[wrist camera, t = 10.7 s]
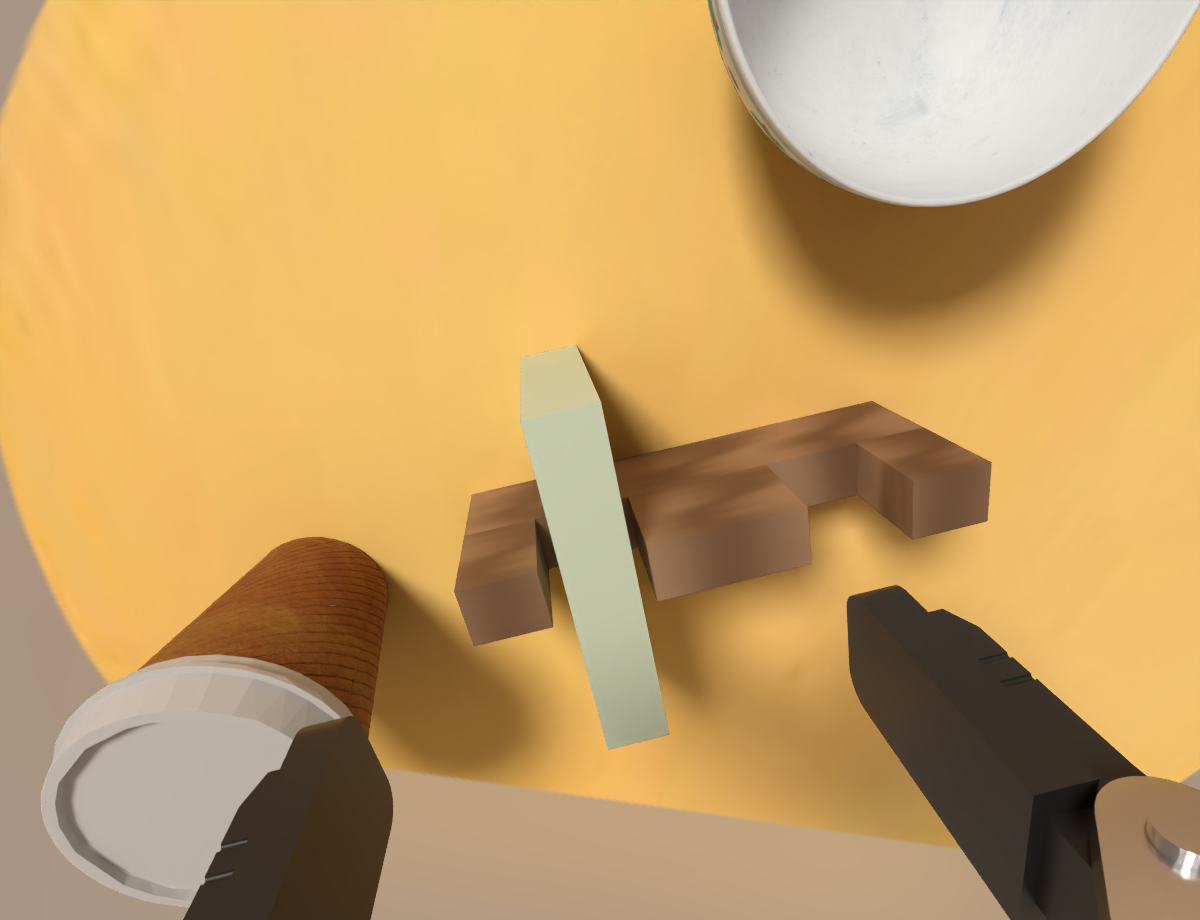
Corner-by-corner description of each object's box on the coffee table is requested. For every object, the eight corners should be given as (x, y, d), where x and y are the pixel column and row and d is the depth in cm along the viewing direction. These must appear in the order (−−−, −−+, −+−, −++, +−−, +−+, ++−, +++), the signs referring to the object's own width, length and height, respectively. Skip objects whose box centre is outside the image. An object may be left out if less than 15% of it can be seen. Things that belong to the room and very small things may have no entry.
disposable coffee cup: (460, 575, 30) (423, 784, 19) (352, 696, 32) (260, 950, 21) (286, 467, 27) (119, 641, 16) (178, 609, 29) (-38, 852, 18)
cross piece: (520, 357, 26) (519, 420, 18) (576, 344, 26) (600, 402, 18) (585, 611, 31) (607, 749, 23) (630, 600, 32) (669, 734, 23)
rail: (871, 401, 29) (991, 462, 22) (872, 447, 30) (987, 521, 23) (471, 494, 28) (454, 591, 21) (486, 539, 29) (473, 646, 22)
